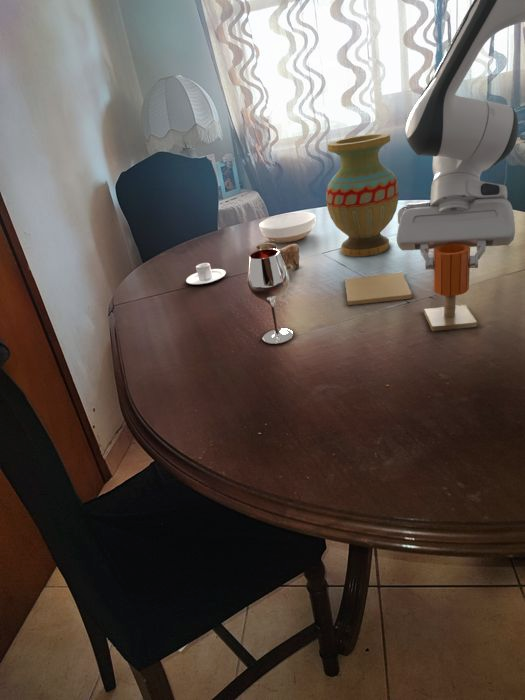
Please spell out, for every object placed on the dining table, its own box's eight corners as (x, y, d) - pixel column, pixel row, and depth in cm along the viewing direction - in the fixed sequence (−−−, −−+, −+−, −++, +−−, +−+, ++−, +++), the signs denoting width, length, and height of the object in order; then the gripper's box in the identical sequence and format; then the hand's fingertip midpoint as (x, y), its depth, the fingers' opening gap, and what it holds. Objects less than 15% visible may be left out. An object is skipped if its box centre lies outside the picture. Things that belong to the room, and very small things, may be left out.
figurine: (254, 282, 128) (248, 246, 123) (290, 262, 138) (285, 228, 133) (273, 284, 123) (267, 248, 119) (308, 263, 133) (304, 229, 128)
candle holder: (224, 268, 143) (221, 255, 141) (228, 280, 132) (225, 266, 130) (186, 276, 142) (182, 263, 140) (187, 289, 131) (183, 275, 129)
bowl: (319, 226, 167) (317, 209, 164) (315, 242, 150) (313, 224, 147) (266, 233, 171) (264, 216, 168) (257, 249, 155) (254, 231, 152)
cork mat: (402, 275, 114) (402, 272, 113) (412, 298, 102) (412, 294, 101) (345, 282, 116) (344, 278, 116) (348, 305, 104) (347, 301, 104)
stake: (465, 309, 93) (467, 261, 88) (476, 327, 86) (479, 276, 82) (424, 313, 95) (424, 267, 90) (432, 331, 88) (432, 282, 83)
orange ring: (463, 281, 89) (464, 241, 86) (472, 293, 84) (474, 251, 80) (431, 285, 91) (431, 246, 87) (437, 297, 85) (437, 256, 82)
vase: (356, 265, 125) (347, 147, 111) (319, 251, 142) (307, 146, 128) (415, 246, 131) (413, 131, 117) (372, 234, 148) (367, 132, 134)
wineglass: (269, 326, 101) (254, 247, 93) (303, 328, 98) (291, 246, 89) (252, 344, 95) (235, 261, 87) (288, 347, 92) (274, 261, 83)
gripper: (396, 196, 89) (391, 262, 86) (516, 184, 81) (515, 257, 78) (400, 213, 95) (395, 276, 92) (513, 204, 86) (511, 272, 83)
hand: (451, 267), depth 85 cm, fingers closed on orange ring, 6 cm apart
